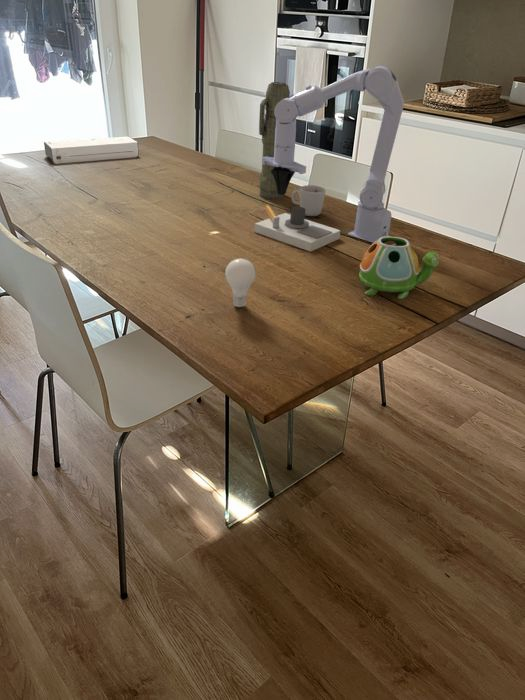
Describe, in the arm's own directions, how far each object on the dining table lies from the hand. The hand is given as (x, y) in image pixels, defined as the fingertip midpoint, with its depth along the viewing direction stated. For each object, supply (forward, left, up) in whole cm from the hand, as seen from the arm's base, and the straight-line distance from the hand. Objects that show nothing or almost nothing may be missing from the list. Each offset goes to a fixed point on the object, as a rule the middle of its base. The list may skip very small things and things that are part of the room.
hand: (281, 193), depth 164 cm
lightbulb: (-27, +48, -9) cm, 56 cm away
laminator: (+99, -4, -10) cm, 100 cm away
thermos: (+20, -20, -9) cm, 29 cm away
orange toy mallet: (-1, +6, -6) cm, 9 cm away
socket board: (-9, +4, -9) cm, 14 cm away
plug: (-8, +3, -9) cm, 13 cm away
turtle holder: (-46, +15, -9) cm, 50 cm away
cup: (+1, -14, -9) cm, 17 cm away
